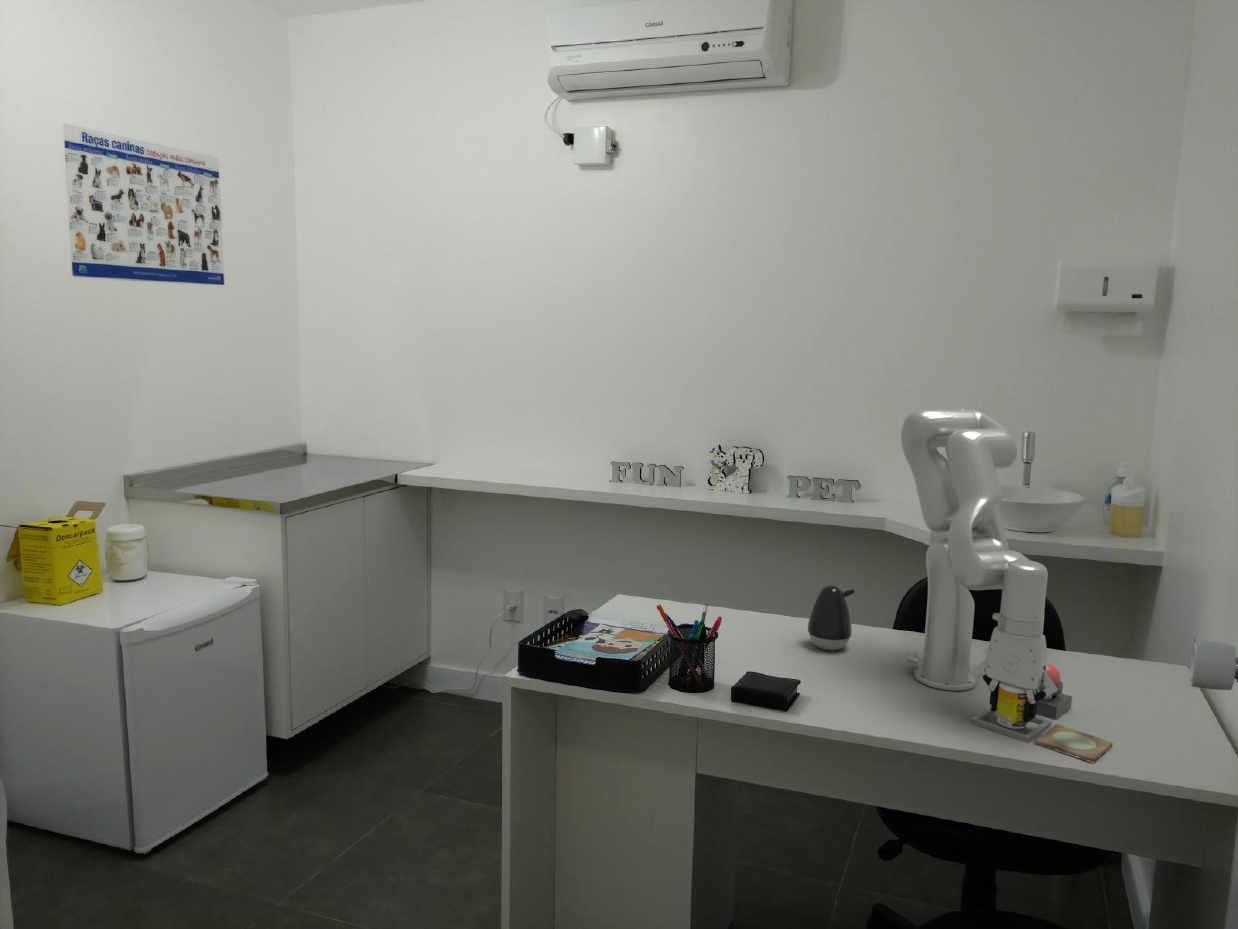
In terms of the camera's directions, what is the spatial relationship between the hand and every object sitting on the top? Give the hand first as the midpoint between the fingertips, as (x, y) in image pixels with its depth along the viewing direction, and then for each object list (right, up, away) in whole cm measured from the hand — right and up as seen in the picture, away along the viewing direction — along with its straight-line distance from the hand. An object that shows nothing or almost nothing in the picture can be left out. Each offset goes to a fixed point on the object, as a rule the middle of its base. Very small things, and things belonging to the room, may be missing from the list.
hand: (1012, 714), depth 171 cm
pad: (+8, -3, -8) cm, 12 cm away
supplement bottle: (0, -2, 0) cm, 2 cm away
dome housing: (+10, -1, +9) cm, 13 cm away
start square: (0, -2, 0) cm, 2 cm away
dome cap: (+10, 0, +8) cm, 13 cm away
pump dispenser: (-26, +5, +40) cm, 48 cm away
